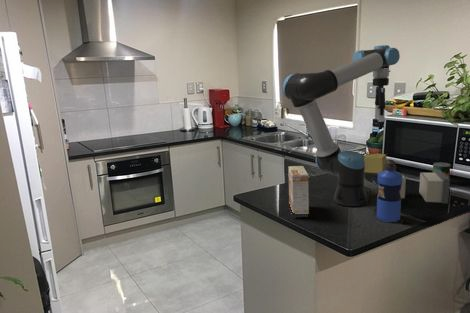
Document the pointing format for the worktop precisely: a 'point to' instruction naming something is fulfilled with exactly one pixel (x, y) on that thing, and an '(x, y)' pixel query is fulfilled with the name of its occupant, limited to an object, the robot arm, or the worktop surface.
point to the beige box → (403, 187)
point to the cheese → (375, 163)
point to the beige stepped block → (434, 186)
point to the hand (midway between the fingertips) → (379, 119)
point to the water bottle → (389, 193)
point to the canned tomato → (442, 168)
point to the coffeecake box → (298, 190)
